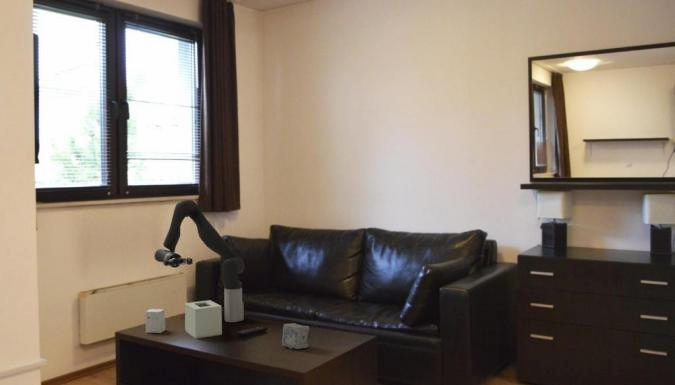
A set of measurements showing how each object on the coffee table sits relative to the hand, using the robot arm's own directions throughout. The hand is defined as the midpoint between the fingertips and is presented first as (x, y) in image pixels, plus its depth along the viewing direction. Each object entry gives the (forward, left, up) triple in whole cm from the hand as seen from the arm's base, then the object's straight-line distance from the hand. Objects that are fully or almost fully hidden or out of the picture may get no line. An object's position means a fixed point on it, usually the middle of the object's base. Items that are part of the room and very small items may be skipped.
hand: (182, 263), depth 309 cm
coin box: (-4, +20, -32) cm, 38 cm away
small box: (+15, +4, -32) cm, 36 cm away
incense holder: (-31, +66, -32) cm, 80 cm away
